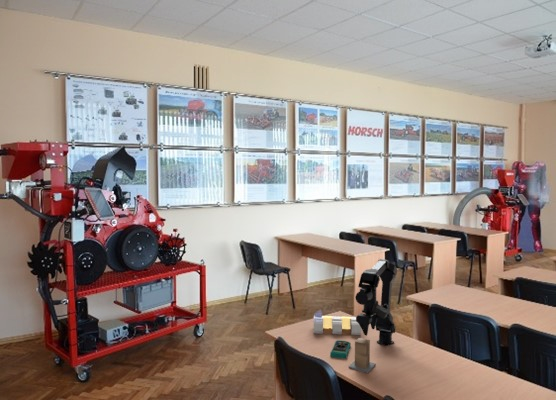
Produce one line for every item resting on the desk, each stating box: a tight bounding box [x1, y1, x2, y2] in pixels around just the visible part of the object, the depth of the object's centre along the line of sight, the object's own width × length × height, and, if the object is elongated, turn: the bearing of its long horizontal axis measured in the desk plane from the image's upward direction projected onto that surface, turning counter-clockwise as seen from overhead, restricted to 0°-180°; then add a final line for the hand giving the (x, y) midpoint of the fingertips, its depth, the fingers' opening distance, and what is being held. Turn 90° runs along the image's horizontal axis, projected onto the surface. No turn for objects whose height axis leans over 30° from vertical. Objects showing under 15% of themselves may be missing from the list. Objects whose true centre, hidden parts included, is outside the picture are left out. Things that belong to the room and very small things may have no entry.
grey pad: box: [348, 360, 376, 374], centre depth 188 cm, size 9×9×1 cm
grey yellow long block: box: [313, 309, 362, 336], centre depth 229 cm, size 25×10×13 cm, turn 84°
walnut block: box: [354, 337, 371, 368], centre depth 187 cm, size 5×5×11 cm
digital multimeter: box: [329, 339, 352, 360], centre depth 204 cm, size 8×15×3 cm, turn 162°
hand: (369, 332), depth 193 cm, fingers open, 9 cm apart
